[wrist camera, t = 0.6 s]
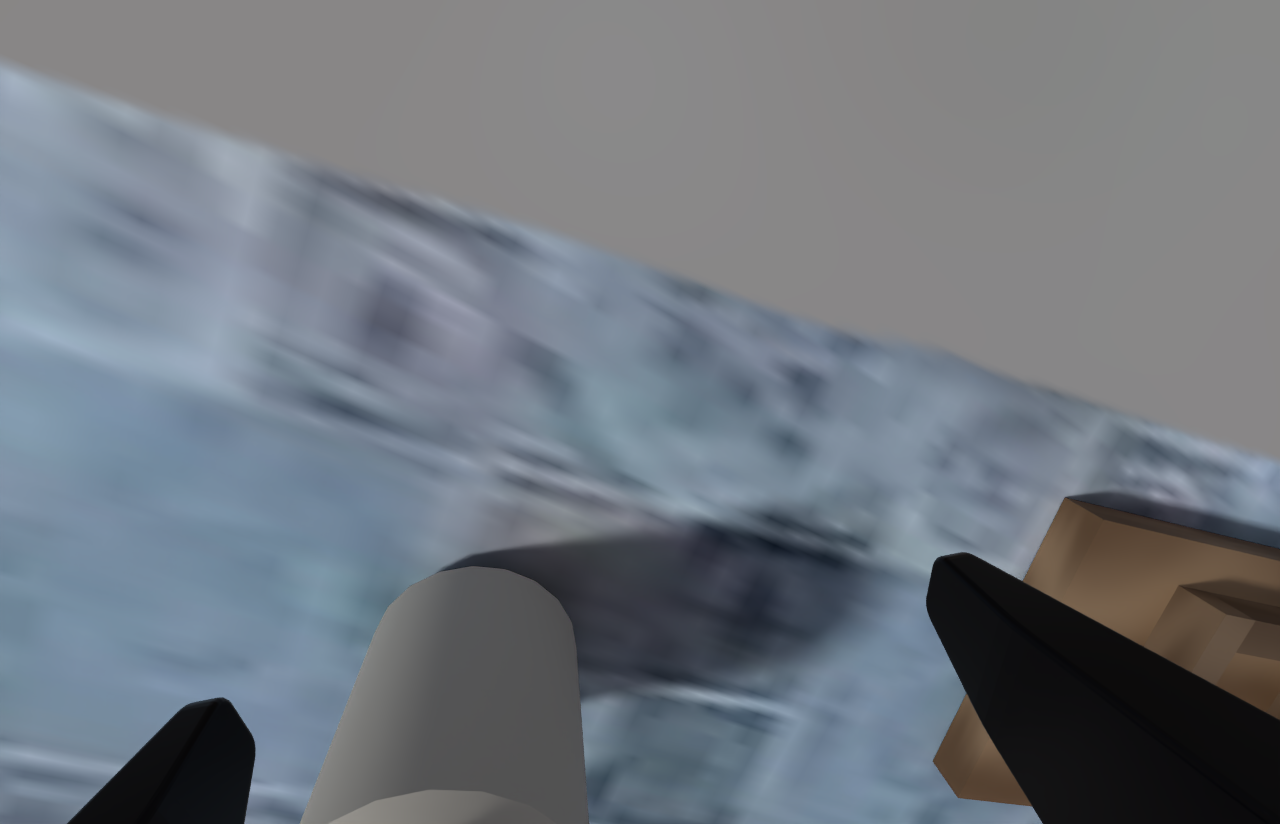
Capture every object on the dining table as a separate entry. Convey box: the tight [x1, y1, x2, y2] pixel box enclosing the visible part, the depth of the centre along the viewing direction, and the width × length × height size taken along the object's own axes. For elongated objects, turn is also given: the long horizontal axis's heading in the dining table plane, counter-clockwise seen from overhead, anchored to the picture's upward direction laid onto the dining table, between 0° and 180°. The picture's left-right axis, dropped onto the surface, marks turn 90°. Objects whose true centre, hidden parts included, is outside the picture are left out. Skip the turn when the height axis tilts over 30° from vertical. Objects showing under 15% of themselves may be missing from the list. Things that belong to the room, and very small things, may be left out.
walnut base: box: [933, 498, 1280, 806], centre depth 29 cm, size 14×20×4 cm
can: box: [300, 566, 589, 824], centre depth 20 cm, size 8×8×12 cm
